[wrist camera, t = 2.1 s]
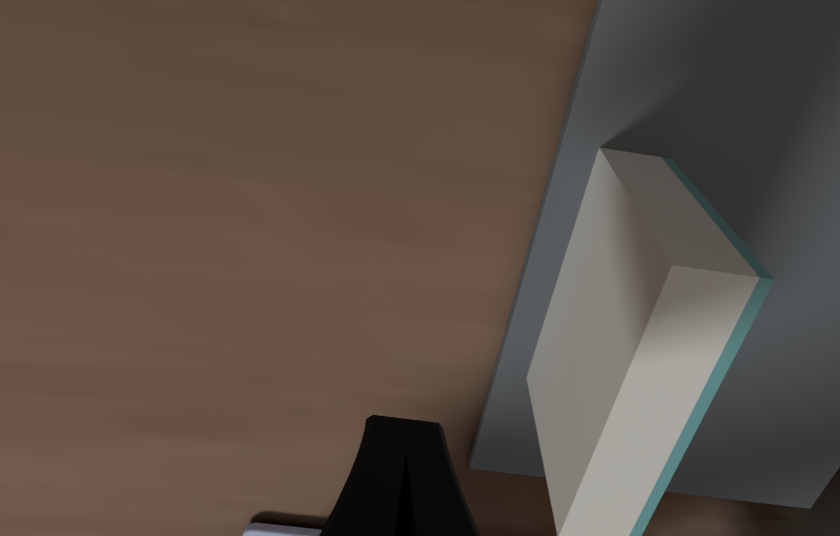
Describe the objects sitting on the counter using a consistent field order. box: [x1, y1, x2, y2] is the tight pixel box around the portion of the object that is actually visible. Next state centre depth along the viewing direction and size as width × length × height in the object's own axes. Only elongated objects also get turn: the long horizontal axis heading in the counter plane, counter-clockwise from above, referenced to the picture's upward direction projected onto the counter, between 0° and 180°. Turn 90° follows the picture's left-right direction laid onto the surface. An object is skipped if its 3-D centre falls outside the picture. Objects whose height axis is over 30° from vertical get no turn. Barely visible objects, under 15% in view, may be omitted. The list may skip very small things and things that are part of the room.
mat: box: [469, 0, 840, 509], centre depth 20 cm, size 17×13×1 cm
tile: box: [526, 148, 775, 536], centre depth 17 cm, size 8×2×6 cm, turn 171°
